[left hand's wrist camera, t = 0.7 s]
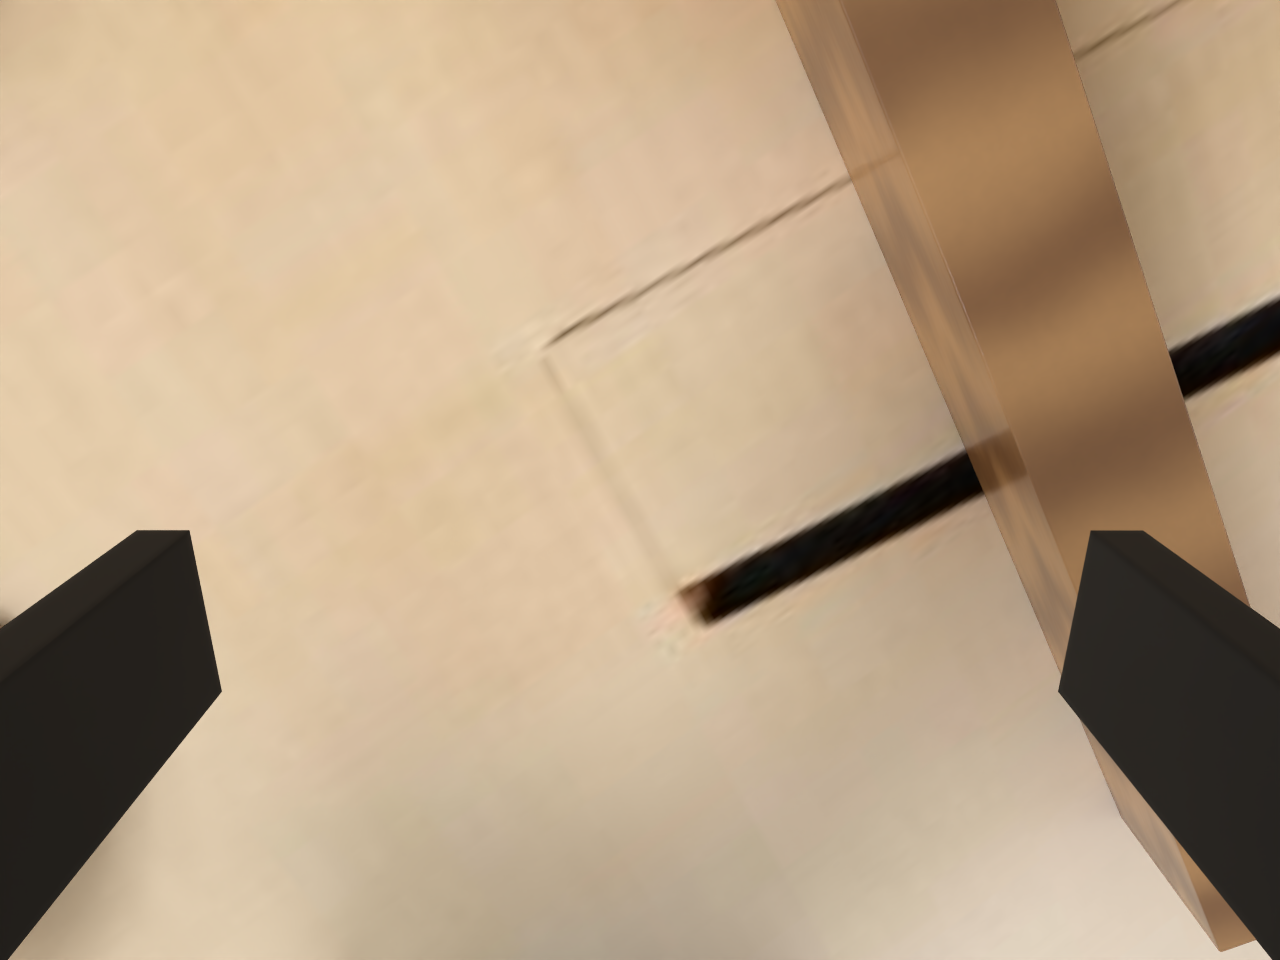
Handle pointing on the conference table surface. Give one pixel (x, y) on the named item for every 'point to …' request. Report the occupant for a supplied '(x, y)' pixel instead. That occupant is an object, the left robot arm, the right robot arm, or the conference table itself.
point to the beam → (1024, 304)
